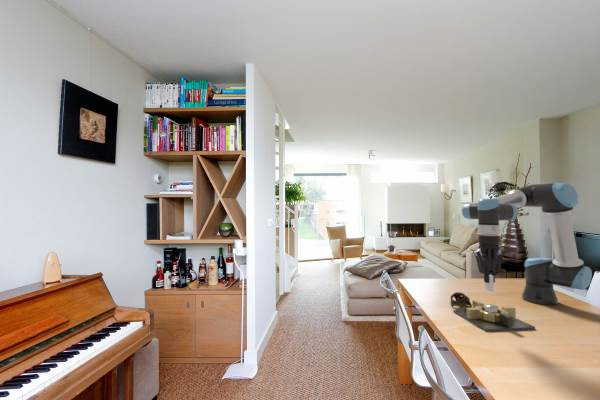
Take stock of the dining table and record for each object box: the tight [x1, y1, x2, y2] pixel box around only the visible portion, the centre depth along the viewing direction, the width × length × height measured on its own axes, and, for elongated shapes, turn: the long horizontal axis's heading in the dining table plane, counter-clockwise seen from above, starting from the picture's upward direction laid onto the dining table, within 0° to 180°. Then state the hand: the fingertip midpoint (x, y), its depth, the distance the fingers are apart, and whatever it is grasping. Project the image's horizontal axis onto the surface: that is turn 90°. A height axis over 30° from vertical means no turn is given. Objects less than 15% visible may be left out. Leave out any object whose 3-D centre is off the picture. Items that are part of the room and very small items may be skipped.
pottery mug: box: [450, 291, 473, 308], centre depth 150 cm, size 12×10×8 cm
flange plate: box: [453, 303, 536, 332], centre depth 132 cm, size 22×22×6 cm
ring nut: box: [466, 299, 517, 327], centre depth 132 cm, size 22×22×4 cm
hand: (489, 290), depth 123 cm, fingers closed
